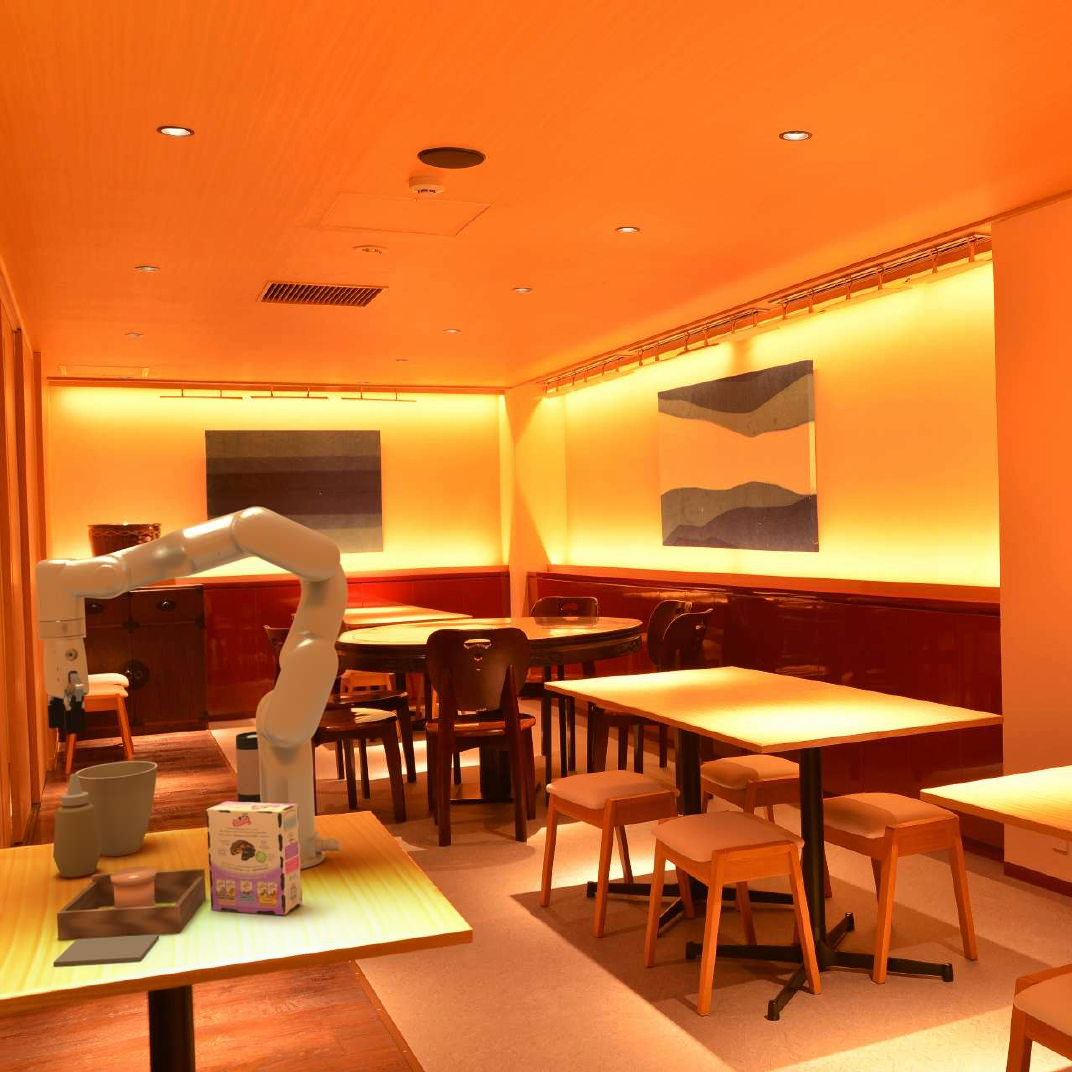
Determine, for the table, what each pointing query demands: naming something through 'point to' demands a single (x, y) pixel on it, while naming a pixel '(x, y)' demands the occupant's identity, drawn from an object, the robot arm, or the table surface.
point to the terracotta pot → (134, 887)
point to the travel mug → (248, 767)
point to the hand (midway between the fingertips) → (67, 730)
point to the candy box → (254, 857)
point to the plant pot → (120, 803)
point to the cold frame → (133, 908)
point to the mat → (106, 950)
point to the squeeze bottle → (76, 833)
